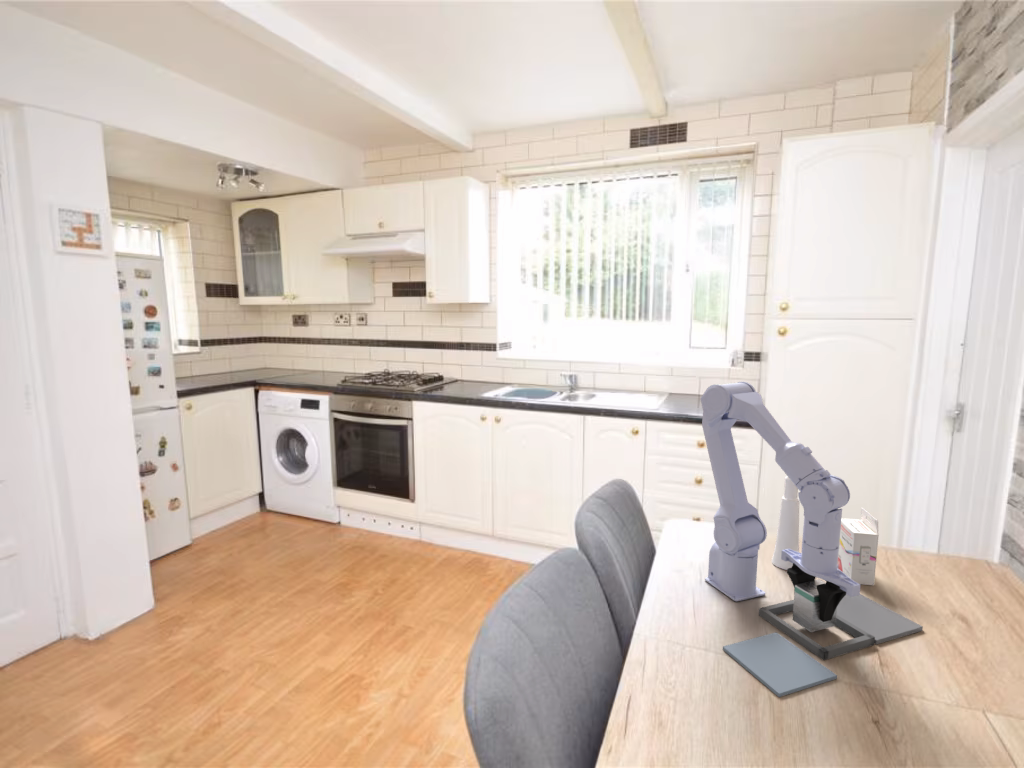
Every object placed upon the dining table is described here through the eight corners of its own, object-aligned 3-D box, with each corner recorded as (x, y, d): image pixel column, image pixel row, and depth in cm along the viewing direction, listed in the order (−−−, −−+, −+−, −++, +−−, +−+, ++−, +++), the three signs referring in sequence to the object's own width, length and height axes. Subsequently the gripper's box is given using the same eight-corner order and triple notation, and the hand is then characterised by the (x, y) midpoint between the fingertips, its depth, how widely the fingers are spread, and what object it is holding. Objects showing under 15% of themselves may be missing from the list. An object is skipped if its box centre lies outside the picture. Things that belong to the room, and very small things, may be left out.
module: (792, 620, 96) (794, 584, 95) (816, 613, 98) (819, 579, 97) (811, 632, 92) (814, 595, 91) (835, 625, 94) (839, 589, 93)
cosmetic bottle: (803, 572, 116) (810, 478, 113) (773, 568, 118) (779, 476, 115) (797, 560, 122) (804, 470, 119) (769, 556, 124) (775, 468, 121)
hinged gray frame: (758, 615, 100) (759, 608, 100) (850, 592, 108) (850, 585, 108) (823, 660, 87) (824, 652, 86) (922, 630, 95) (923, 623, 94)
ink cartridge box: (833, 565, 120) (838, 504, 118) (857, 567, 119) (862, 506, 117) (849, 584, 111) (855, 519, 109) (875, 586, 110) (881, 520, 108)
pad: (722, 649, 90) (722, 646, 89) (775, 635, 93) (776, 632, 93) (778, 697, 78) (779, 693, 78) (836, 678, 82) (837, 675, 82)
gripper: (875, 557, 87) (868, 631, 89) (802, 524, 101) (797, 589, 103) (845, 564, 85) (838, 639, 87) (774, 529, 99) (770, 595, 101)
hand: (814, 613), depth 95 cm, fingers closed on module, 4 cm apart
